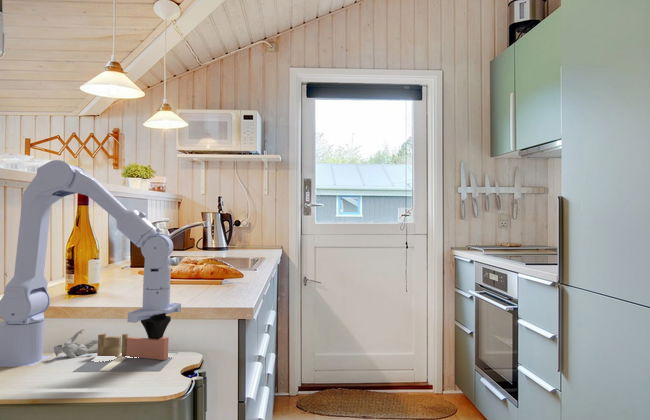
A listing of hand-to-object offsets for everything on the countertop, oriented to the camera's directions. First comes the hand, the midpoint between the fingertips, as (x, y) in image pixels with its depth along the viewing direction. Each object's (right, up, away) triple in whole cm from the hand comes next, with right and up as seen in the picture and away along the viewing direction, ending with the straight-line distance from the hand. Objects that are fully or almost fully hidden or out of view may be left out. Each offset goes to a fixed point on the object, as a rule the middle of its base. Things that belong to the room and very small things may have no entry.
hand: (154, 349), depth 99 cm
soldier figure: (-17, -2, +2) cm, 17 cm away
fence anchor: (-10, -2, 0) cm, 10 cm away
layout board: (-4, -2, -4) cm, 6 cm away
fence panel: (-1, -1, -1) cm, 2 cm away
